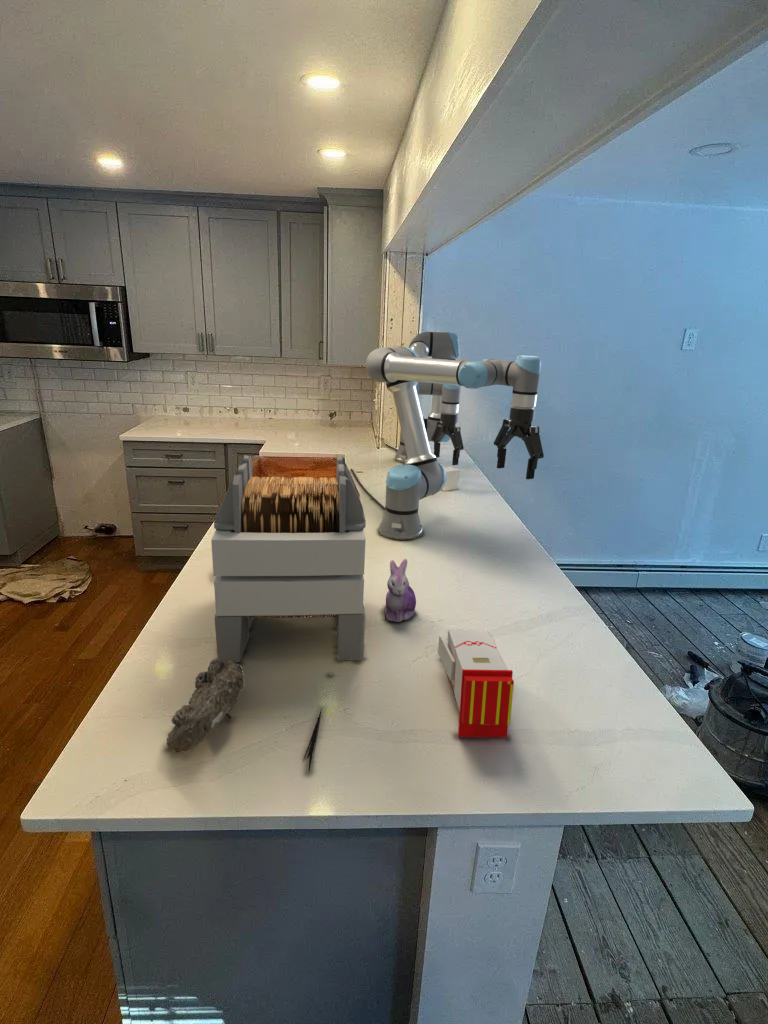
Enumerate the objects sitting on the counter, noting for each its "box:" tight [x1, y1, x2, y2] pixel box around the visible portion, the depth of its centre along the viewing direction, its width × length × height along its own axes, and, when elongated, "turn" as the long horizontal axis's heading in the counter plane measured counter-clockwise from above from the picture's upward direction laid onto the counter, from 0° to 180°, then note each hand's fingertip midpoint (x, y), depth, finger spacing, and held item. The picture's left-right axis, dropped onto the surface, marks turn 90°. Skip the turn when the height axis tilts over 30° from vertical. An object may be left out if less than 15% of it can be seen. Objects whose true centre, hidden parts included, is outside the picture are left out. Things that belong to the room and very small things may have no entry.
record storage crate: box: [210, 454, 366, 663], centre depth 134 cm, size 34×33×41 cm
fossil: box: [166, 659, 245, 754], centre depth 106 cm, size 22×10×15 cm
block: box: [441, 466, 460, 492], centre depth 252 cm, size 7×6×9 cm
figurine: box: [384, 558, 417, 623], centre depth 145 cm, size 9×10×15 cm
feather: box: [301, 673, 332, 771], centre depth 108 cm, size 2×28×2 cm
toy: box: [437, 628, 515, 738], centre depth 117 cm, size 12×13×30 cm
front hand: (514, 473), depth 183 cm, fingers open, 13 cm apart
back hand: (445, 461), depth 251 cm, fingers open, 13 cm apart
